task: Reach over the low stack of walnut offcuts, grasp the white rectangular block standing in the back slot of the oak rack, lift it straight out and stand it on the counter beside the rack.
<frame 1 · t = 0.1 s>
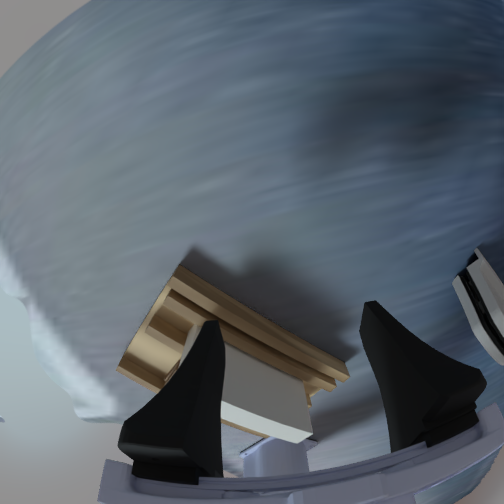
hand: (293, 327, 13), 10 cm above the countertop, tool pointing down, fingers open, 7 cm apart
white rectangular block: (247, 354, 26), point 1 cm above the countertop, touching rack
grey curved slab: (481, 301, 26), on the countertop
rack: (231, 365, 28), on the countertop
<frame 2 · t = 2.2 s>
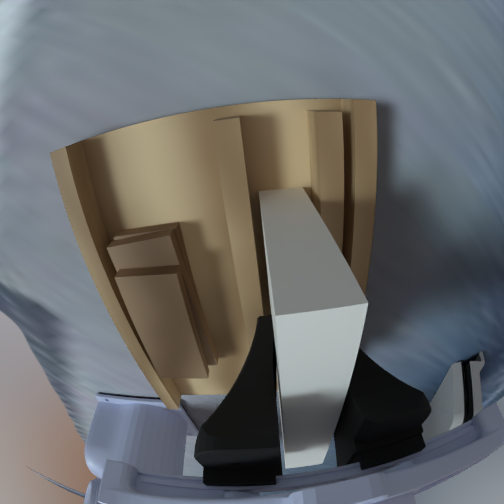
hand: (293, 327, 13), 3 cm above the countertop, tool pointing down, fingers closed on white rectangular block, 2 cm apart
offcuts: (172, 304, 16), point 1 cm above the countertop, touching rack
white rectangular block: (287, 294, 16), point 1 cm above the countertop, touching gripper, rack
grey curved slab: (437, 395, 27), on the countertop
rack: (233, 290, 16), on the countertop
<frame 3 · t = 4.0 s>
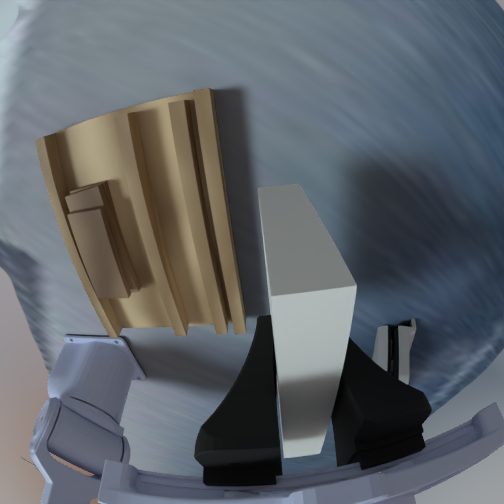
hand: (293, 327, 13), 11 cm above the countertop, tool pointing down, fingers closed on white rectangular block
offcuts: (106, 240, 21), point 1 cm above the countertop, touching rack
white rectangular block: (285, 287, 16), point 7 cm above the countertop, touching gripper
grey curved slab: (377, 364, 33), on the countertop
rack: (146, 230, 22), on the countertop
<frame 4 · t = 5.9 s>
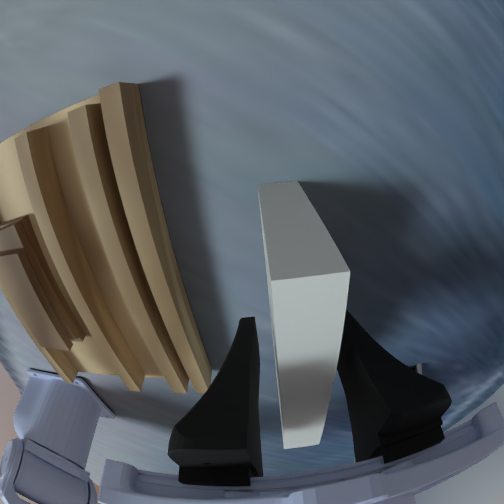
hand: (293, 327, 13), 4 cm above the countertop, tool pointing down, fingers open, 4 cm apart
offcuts: (40, 283, 15), point 1 cm above the countertop, touching rack
white rectangular block: (284, 281, 17), on the countertop
rack: (81, 273, 16), on the countertop
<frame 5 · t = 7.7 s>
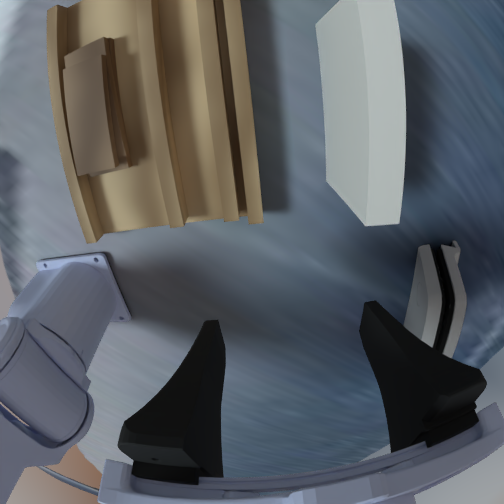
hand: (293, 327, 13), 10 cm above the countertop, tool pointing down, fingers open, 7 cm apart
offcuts: (100, 106, 16), point 1 cm above the countertop, touching rack
white rectangular block: (336, 101, 17), on the countertop
grey curved slab: (414, 306, 27), on the countertop
rack: (148, 93, 16), on the countertop
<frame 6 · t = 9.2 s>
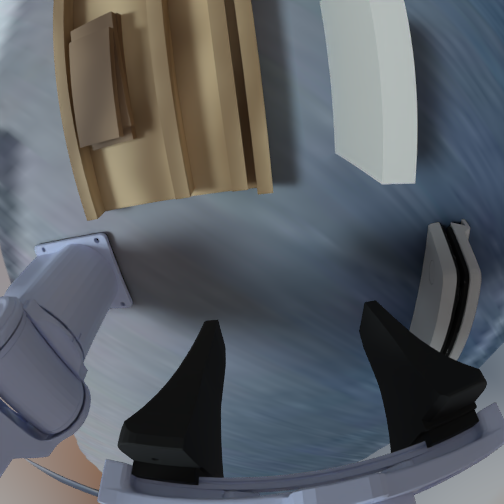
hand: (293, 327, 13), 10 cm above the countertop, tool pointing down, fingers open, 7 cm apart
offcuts: (105, 80, 15), point 1 cm above the countertop, touching rack
white rectangular block: (342, 74, 16), on the countertop
grey curved slab: (425, 288, 26), on the countertop
rack: (154, 66, 16), on the countertop
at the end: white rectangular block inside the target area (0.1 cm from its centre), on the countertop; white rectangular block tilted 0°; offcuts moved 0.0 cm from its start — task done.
